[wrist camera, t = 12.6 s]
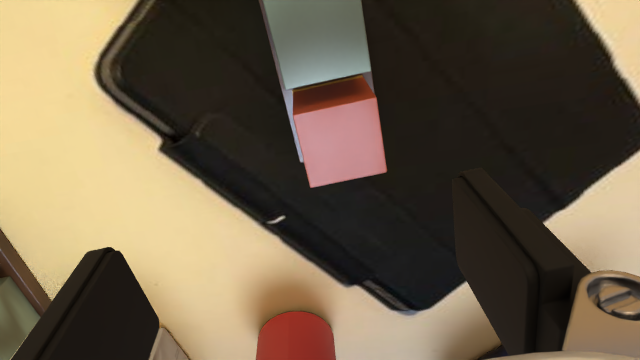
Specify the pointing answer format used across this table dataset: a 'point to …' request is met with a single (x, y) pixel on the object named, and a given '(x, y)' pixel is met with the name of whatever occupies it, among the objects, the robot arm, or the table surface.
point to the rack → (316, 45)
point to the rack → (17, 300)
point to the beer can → (296, 338)
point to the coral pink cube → (339, 132)
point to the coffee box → (166, 348)
